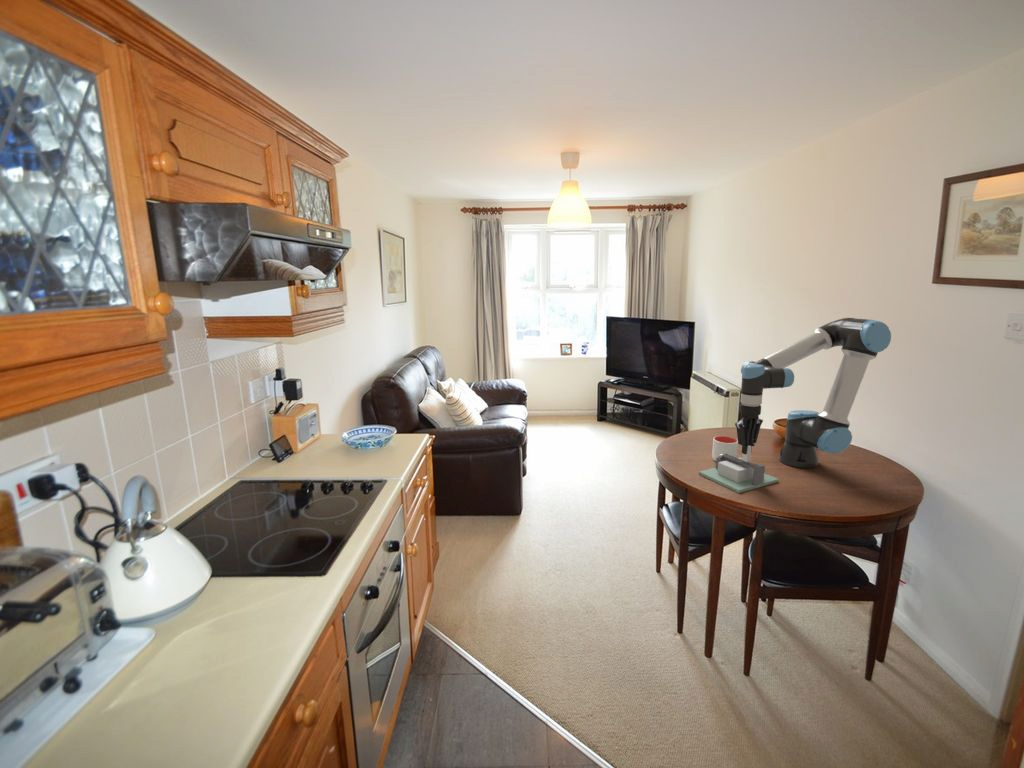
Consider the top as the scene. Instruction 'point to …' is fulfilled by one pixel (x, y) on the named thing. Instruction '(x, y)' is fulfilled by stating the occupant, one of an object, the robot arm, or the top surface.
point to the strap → (737, 460)
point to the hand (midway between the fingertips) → (745, 460)
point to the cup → (724, 446)
